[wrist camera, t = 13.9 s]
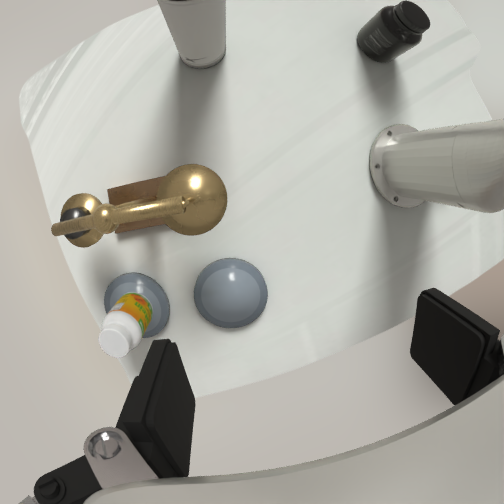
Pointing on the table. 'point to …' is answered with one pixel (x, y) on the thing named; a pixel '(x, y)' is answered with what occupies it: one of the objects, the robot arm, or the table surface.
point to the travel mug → (197, 29)
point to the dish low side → (146, 288)
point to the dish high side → (230, 293)
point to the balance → (147, 206)
